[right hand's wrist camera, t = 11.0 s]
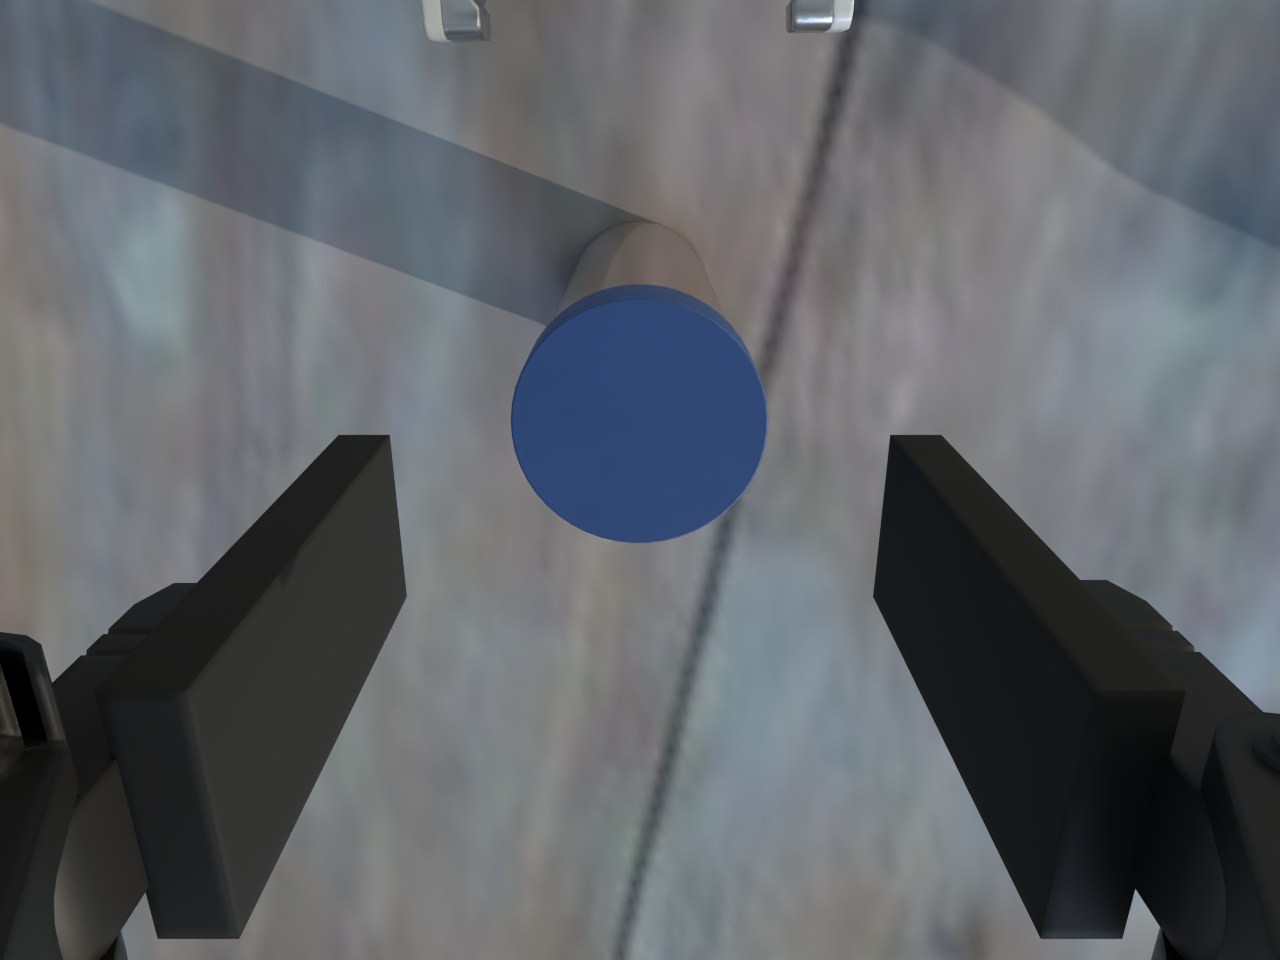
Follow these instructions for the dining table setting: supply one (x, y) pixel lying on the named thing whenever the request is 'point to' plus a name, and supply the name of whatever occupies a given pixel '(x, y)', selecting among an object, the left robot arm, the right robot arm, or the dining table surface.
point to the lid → (639, 414)
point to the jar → (639, 264)
